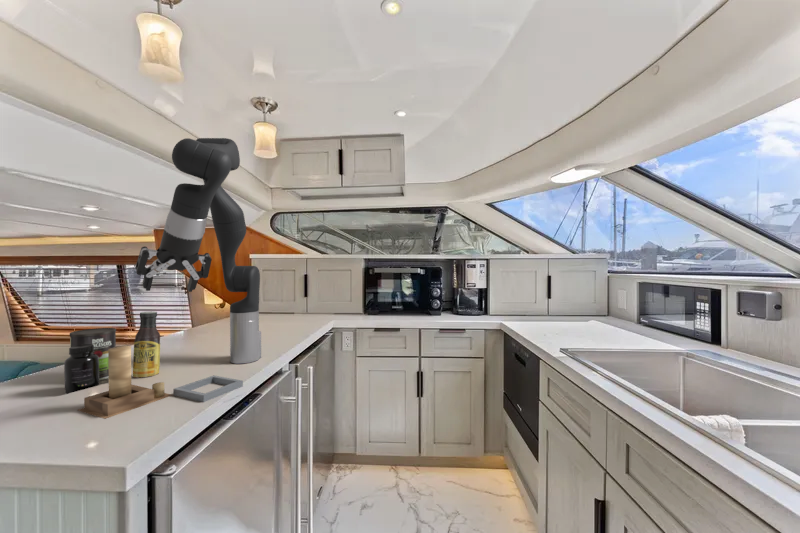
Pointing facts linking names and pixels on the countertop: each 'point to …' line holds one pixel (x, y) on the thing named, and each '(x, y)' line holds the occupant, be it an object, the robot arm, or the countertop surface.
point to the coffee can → (97, 345)
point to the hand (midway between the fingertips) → (169, 289)
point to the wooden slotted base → (123, 401)
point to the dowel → (119, 371)
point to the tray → (203, 397)
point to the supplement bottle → (81, 368)
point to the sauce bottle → (146, 347)
